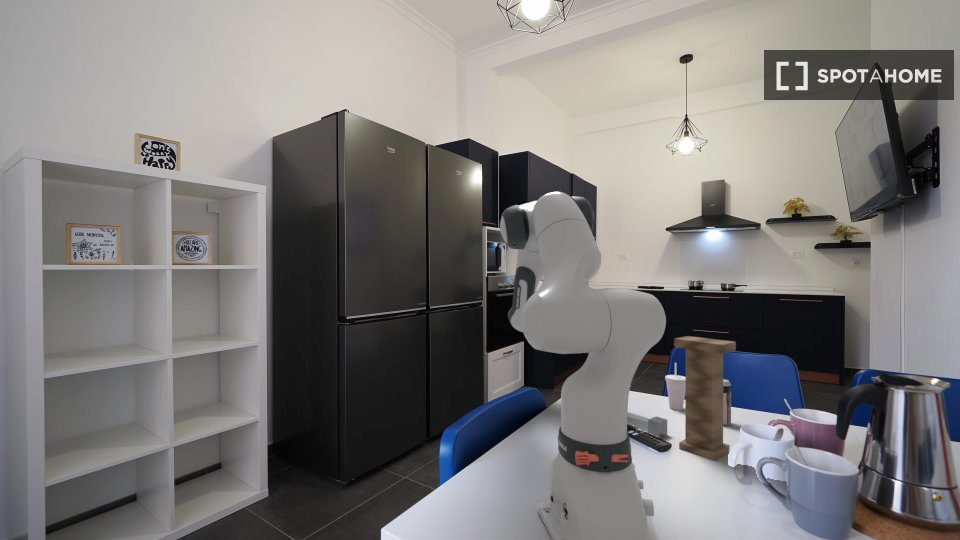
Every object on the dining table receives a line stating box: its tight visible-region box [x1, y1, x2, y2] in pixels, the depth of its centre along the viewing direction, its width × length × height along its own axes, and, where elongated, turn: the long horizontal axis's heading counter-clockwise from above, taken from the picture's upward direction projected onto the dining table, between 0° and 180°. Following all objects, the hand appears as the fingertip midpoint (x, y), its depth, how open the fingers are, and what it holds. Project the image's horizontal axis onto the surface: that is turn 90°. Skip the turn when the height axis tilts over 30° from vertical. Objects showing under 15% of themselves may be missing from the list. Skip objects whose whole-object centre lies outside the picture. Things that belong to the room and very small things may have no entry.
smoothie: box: [664, 362, 686, 412], centre depth 127 cm, size 6×6×14 cm
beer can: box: [723, 378, 732, 426], centre depth 115 cm, size 5×5×12 cm
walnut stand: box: [673, 335, 737, 462], centre depth 97 cm, size 11×8×26 cm
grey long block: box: [627, 412, 668, 439], centre depth 112 cm, size 18×4×4 cm, turn 38°
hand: (610, 313), depth 117 cm, fingers open, 8 cm apart
